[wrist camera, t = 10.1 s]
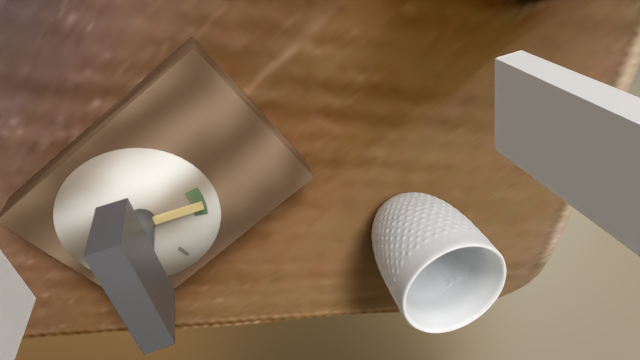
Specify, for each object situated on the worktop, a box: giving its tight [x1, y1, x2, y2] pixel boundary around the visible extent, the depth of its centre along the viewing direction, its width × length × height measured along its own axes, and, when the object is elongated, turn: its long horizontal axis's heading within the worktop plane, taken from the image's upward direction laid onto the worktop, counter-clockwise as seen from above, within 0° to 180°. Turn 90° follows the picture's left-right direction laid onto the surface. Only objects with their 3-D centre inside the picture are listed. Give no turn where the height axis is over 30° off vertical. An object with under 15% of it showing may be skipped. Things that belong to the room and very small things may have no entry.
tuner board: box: [0, 37, 314, 289], centre depth 44 cm, size 16×22×4 cm
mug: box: [371, 192, 506, 333], centre depth 51 cm, size 15×11×13 cm
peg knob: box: [83, 198, 204, 354], centre depth 38 cm, size 7×10×11 cm
